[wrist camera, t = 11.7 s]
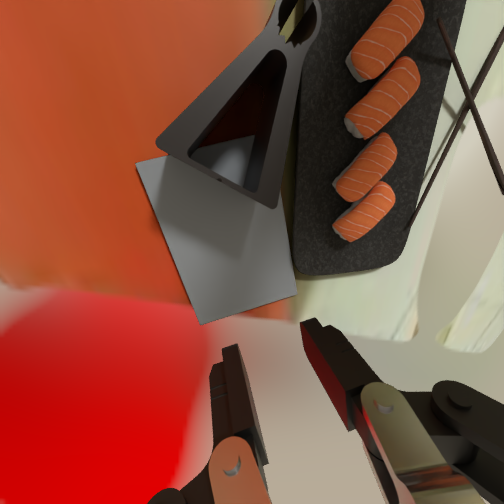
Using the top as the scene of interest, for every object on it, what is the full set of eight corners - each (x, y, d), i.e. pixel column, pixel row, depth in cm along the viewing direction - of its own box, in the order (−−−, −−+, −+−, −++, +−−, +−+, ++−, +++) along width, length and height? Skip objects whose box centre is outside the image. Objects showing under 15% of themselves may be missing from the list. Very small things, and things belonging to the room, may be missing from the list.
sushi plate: (299, -81, 18) (325, -138, 14) (590, -30, 23) (659, -62, 20) (285, 272, 29) (297, 288, 25) (484, 248, 34) (516, 259, 31)
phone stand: (153, 145, 15) (242, -73, 13) (166, 152, 20) (230, 3, 18) (274, 211, 18) (365, 42, 15) (257, 201, 23) (322, 77, 21)
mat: (268, 131, 22) (270, 130, 21) (295, 291, 29) (297, 294, 29) (136, 162, 21) (135, 163, 20) (200, 322, 28) (200, 325, 28)
